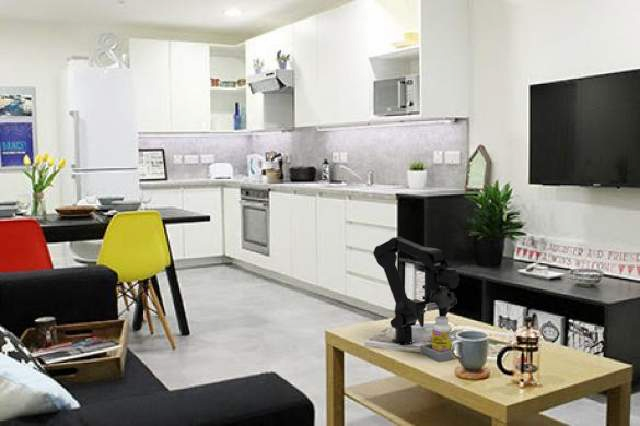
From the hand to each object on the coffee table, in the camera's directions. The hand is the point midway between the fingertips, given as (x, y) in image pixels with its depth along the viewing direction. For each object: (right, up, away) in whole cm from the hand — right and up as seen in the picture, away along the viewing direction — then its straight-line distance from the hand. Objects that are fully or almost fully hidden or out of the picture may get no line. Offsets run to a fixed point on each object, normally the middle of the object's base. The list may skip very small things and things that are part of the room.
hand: (432, 325), depth 250 cm
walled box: (+3, -10, -4) cm, 11 cm away
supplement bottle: (+3, -10, -4) cm, 11 cm away
